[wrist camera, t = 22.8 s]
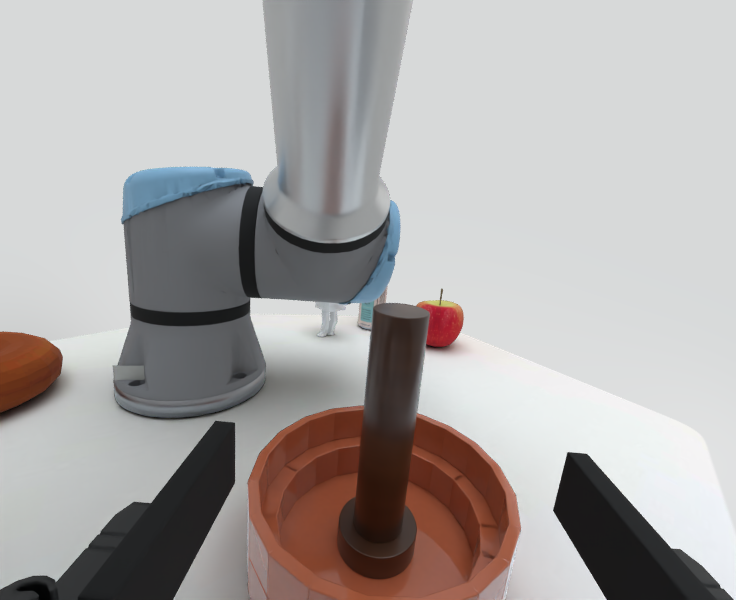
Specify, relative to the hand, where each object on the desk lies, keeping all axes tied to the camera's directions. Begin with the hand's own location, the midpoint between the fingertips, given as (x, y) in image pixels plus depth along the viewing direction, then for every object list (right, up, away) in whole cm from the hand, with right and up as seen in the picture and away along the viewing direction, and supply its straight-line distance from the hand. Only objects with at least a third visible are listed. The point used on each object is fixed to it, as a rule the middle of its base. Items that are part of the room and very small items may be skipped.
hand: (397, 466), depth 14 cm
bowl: (-1, -9, +8) cm, 12 cm away
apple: (+10, -1, +47) cm, 48 cm away
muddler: (-1, -8, +8) cm, 12 cm away
